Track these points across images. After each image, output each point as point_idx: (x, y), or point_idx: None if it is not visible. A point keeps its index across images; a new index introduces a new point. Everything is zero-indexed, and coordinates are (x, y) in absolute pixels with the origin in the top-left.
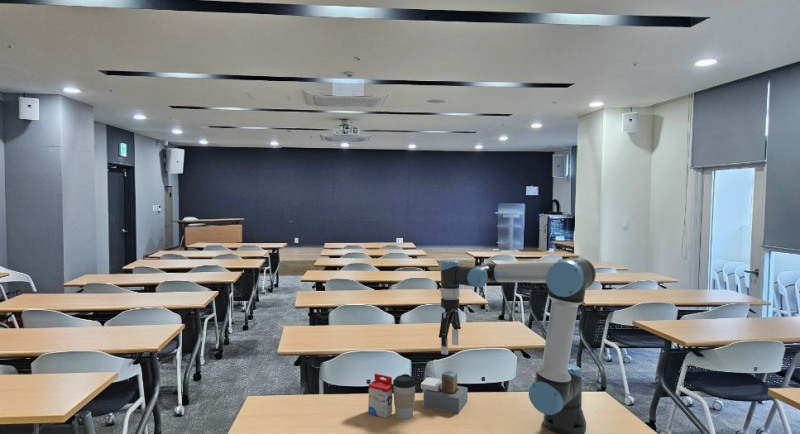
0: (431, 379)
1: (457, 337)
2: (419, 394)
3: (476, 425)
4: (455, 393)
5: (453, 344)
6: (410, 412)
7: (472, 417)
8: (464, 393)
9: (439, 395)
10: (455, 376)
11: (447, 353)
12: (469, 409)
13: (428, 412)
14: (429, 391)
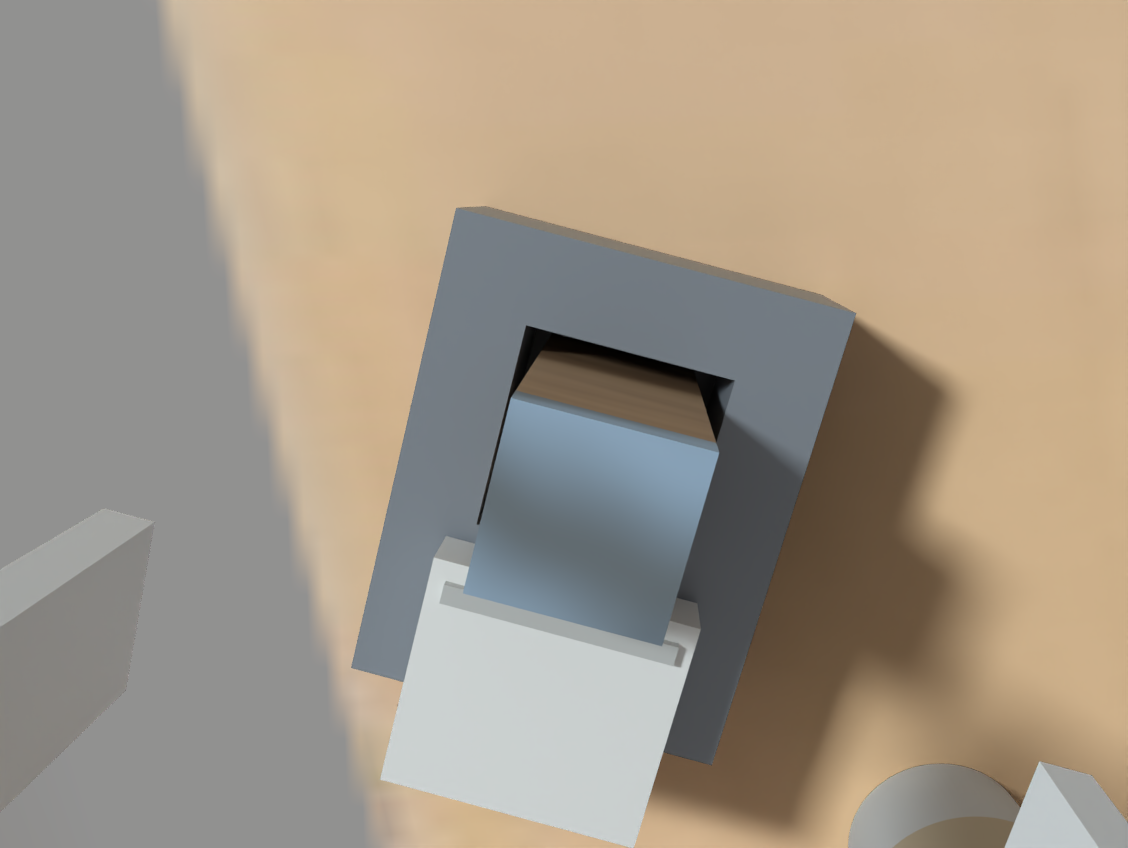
0: (455, 726)
1: (20, 633)
2: None
3: (1100, 76)
4: (696, 366)
5: (127, 652)
6: None
7: (901, 130)
8: (601, 245)
9: (771, 566)
10: (605, 413)
11: (1102, 794)
12: (694, 173)
13: (843, 618)
14: (688, 698)
